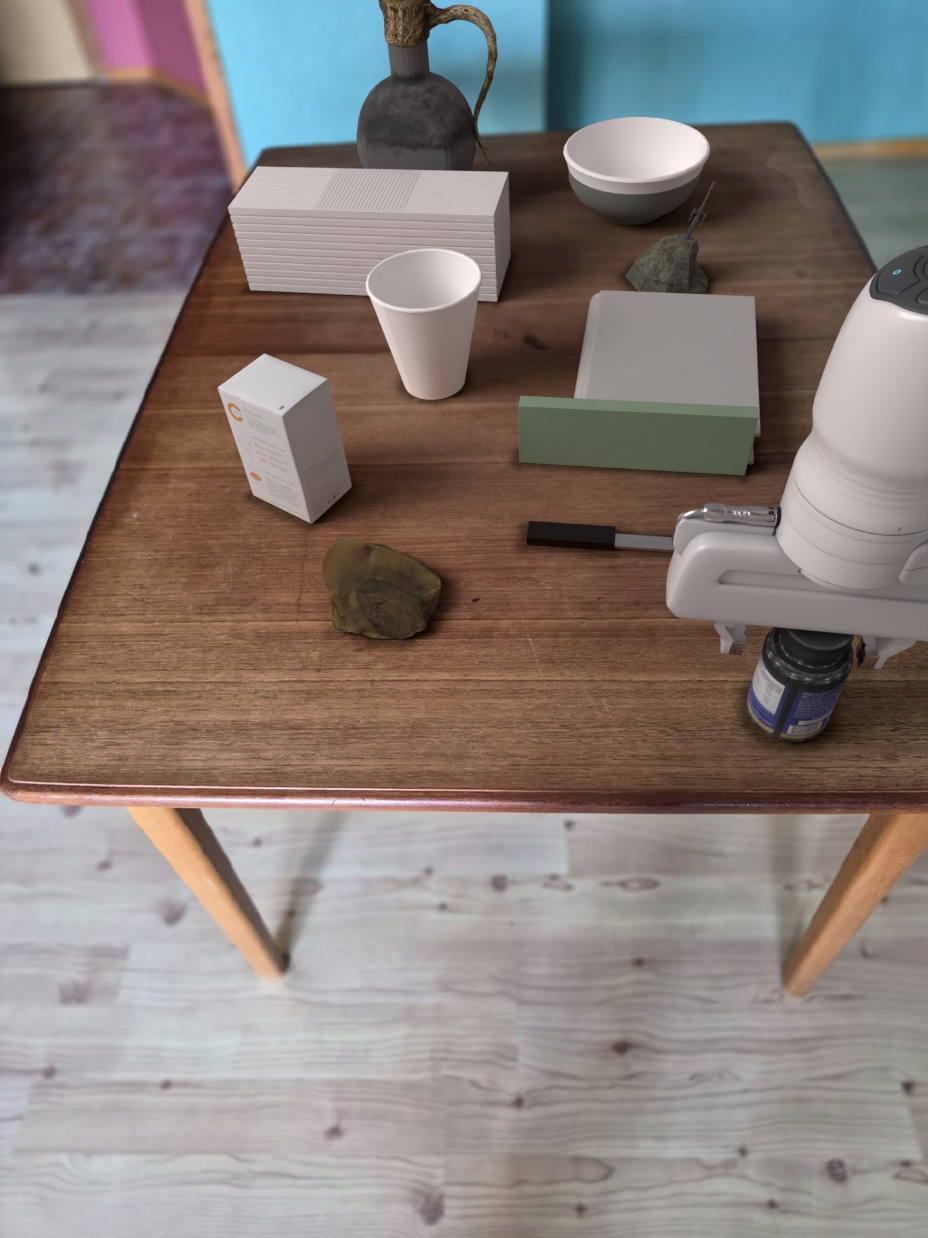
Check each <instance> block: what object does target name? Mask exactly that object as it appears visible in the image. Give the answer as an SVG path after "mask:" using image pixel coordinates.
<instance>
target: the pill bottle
mask: <svg viewBox="0 0 928 1238" xmlns="http://www.w3.org/2000/svg"><path fill="white" fill-rule="evenodd" d="M854 636H855V635H852V634H842V633H832V632H821V631H811V630H800V629H790V628H779V627H771V629H770V630H768V632H767V634H766V635H765V636H764V642H763V645H762V647H761V651H760V655H759V658H758V661H757V664H756V667H755V670H754V674H753V677H752V681H751V684H750V687H749V690H748V694H747V696H746V701H745V703H746V704H745V705H746V712H747V715H748V717H749V719H750V721H751V722H752V724H753V725H754V726H755V728H757V729H758V730H759V731H760V732H761V733H763V734H764V735H766V736H768V737H770V738H773V739H775V740H778V741H781V742H787V743H801V742H802V743H803V742H806V741H809V740H812V739H814V738H816V737H818V735H819V734H821V733H822V732H823V731H824V729H825V727H826V725H827V724H828V722H829V719H830V717H831V715H832V713H833V711H834V709H835V706H836V704H837V702H838V699H839V697H840V695H841V694H842V692H843V689H844V687H845V685H846V682H847V680H848V678H849V676H850V674H851V671H852V669H853V666H854V660H855V657H854V656H855V652H854V649H853V645H852V642H853V640H854Z"/></svg>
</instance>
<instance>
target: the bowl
mask: <svg viewBox="0 0 928 1238" xmlns="http://www.w3.org/2000/svg"><path fill="white" fill-rule="evenodd" d="M710 153H711V147H710V142H709V141H708V139H707V138H706V136H705V135H704V134H703V133H702V132H700V131H699V130H698V129H696V128H694V127H692V126H690V125H688V124H686V123H683V122H680V121H676V120H672V119H668V118H660V117H653V116H651V117H649V116H625V117H617V118H611V119H610V118H609V119H606V120H602V121H601V120H600V121H598V122H594V123H591V124H589V125H586V126H584V127H582V128H580V129H579V130H577V131H575V132H573V134H572V135H571V136H570V137H568V138H567V141H566V143H565V144H564V146H563V156H564V159H565V161H566V164H567V168H568V170H567V172H568V180H569V184H570V186H571V188H572V190H573V192H574V195H575V196H576V198H577V199H578V200H579V201H580V202H581V203H582V204H583V205H584V206H585V207H587V208H588V209H589V210H591V211H592V212H593V213H596V214H598V215H600V216H601V217H603V218H604V219H605V220H607V221H609V222H611V223H615V224H618V225H623V226H624V225H626V226H636V225H637V226H638V225H644V224H648V223H651V222H653V221H655V220H658V218H660V217H662V216H664V215H667V214H669V213H671V212H672V211H673V210H675V209H676V208H678V207H679V206H680V205H681V206H682V204H683V203H685V202H686V201H687V200H688V199H689V198H690V196H691V195H692V194H693V192H694V190H695V189H696V187H697V186H698V185H699V181H700V178H701V174H702V171H703V169H704V168H703V167H704V165H705V163H706V162H707V160H708V159H709V157H710Z"/></svg>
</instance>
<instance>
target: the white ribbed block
mask: <svg viewBox="0 0 928 1238" xmlns="http://www.w3.org/2000/svg"><path fill="white" fill-rule="evenodd" d="M509 179H510V175H509V171H485V170H483V171H482V170H481V171H479V170H470V171H441V170H396V169H363V168H352V167H351V168H348V167H347V168H346V167H345V168H343V167H342V168H341V167H303V166H302V167H300V166H261V165H260V166H256V167H255V169H254V170H253V172H252V173H251V174H250V176H249V177H248V179H247V180H246V181H245V183H244V184H243V185H242V187H241V188H240V190H239V191H238V193H237V194H236V195H235V197H234V198H233V199H232V201H231V202H230V203H229V205H228V206H227V210H228V214H229V215H230V216H229V217H230V222H231V223H232V228H233V231H234V236H235V238H236V243H237V246H238V250H239V253H240V258H241V261H242V265H243V268H244V273H245V275H246V280H247V283H248V287H249V290H250V291H262V292H283V293H302V294H303V293H304V294H305V293H306V294H325V295H346V296H347V295H350V296H368V297H370V296H369V295H368V293H367V290H366V280H367V277H368V275H369V273H370V272H371V271H372V270H373V268H374V267H375V266H376V265H378V264H379V263H381V262H382V261H383V260H385V259H387V258H389V257H391V256H394V255H396V254H399V253H403V252H406V251H410V250H417V249H423V248H439V249H447V250H453V251H456V252H459V253H462V254H465V255H466V256H468V257H470V258H472V259H473V260H474V261H475V262H476V263H477V264H478V265H479V266H480V269H481V272H482V274H483V277H482V284H481V286H480V290H479V296H478V302H492V303H493V302H495V303H496V302H498V299H499V297H500V293H501V290H502V287H503V283H504V280H505V276H506V274H507V269H508V267H509V263H510V260H511V254H512V253H511V220H510V219H511V216H510V215H511V214H510V181H509Z"/></svg>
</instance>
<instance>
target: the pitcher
mask: <svg viewBox="0 0 928 1238" xmlns="http://www.w3.org/2000/svg"><path fill="white" fill-rule="evenodd" d="M377 1H378V7H379V9H380V11H381V12H382V17H383V35H384V41H385V43H386V44H387V51H388V60H389V69H390V71H389V72H390V75H388V76H387V77H385V78H383V79H382V80H380V81H379V82H378V83H376V85H375V86H374V87H373V88H371V90H370V91H369V92H368V94H367V96H366V98H365V99H364V101H363V102H362V105H361V107H360V111H359V114H358V118H357V125H356V126H357V127H356V149H357V153H358V158H359V160H360V161H359V162H360V164H361V167H362V169H396V170H441V171H472V167H473V164H474V161H475V155H476V152H477V144H478V147H479V148H480V149H481V150H482V155H483V156H484V159H485V160H486V161H487V162H488V163H489V164H490V166H492V167H493V165H494V163H493V159H492V157H491V155H490V154H489V152H488V148H487V147H486V146H485V145H484V143H483V140H482V137H481V136H480V131H479V127H478V121H479V116H480V113H481V109H482V107H483V104H484V102H485V100H486V97H487V95H488V92H489V90H490V87H491V85H492V82H493V80H494V74H495V73H494V72H495V69H496V66H497V60H498V55H499V53H498V43H497V42H498V41H497V33H496V32H495V28H494V27H493V23H492V21H491V20H490V18H489V16H488V15H487V14H485V13H484V12H483V11H482V10H481V9H479V8H478V7H475V6H473V5H470V4H453V5H450V6H447V7H445V8H441V7H437V6H436V4H434V3H433V2H432V1H431V0H377ZM454 21H466V22H469V23H471V24H473V25H475V26H476V27H477V28H479V29H480V30H481V32H482V33H483V35H484V37H485V40H486V44H487V63H486V67H485V71H486V74H485V79H484V82H483V84H482V86H481V89H480V91H479V93H478V97H477V100H476V103H475V104H474V108H473V111H472V107H471V106H470V104H469V102H468V100H467V98H466V97H465V95H464V94H463V93H462V91H461V90H460V88H459V87H457V85H455V84H454V83H453V82H452V81H451V80H449V79H447V78H445V77H444V76H442V75H440V74H438V73H436V72H433V71H431V68H430V58H429V57H430V56H429V46H428V45H429V44H428V40H429V38H430V35H431V30H433V29H434V28H435V27H437V26H440V25H447V24H450V23H451V22H454Z"/></svg>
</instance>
